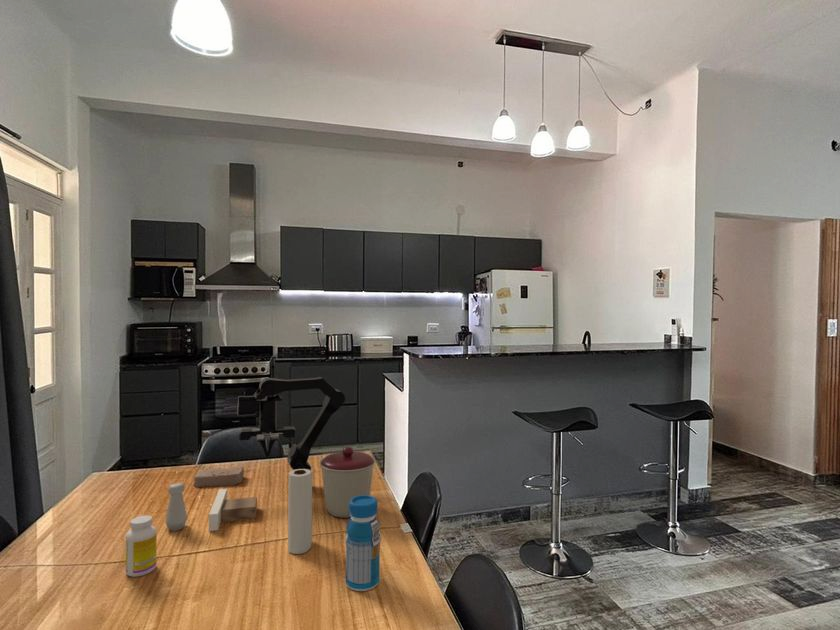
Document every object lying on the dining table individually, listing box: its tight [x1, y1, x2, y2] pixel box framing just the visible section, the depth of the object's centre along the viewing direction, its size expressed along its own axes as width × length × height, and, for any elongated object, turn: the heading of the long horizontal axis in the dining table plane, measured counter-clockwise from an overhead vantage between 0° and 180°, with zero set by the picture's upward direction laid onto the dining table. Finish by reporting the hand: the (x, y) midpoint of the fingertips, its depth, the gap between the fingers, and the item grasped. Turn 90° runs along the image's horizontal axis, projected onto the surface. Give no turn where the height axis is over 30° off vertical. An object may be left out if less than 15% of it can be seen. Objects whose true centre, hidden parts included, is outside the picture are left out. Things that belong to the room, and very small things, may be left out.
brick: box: [193, 466, 245, 488], centre depth 177 cm, size 17×8×5 cm, turn 100°
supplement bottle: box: [125, 515, 157, 578], centre depth 116 cm, size 7×7×13 cm
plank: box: [208, 488, 228, 532], centre depth 147 cm, size 2×20×5 cm, turn 16°
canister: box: [319, 446, 376, 519], centre depth 152 cm, size 18×18×21 cm
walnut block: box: [221, 496, 258, 523], centre depth 148 cm, size 10×8×4 cm
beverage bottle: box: [344, 495, 382, 592], centre depth 112 cm, size 8×8×20 cm
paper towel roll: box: [287, 467, 313, 555], centre depth 128 cm, size 7×6×21 cm
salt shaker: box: [164, 482, 188, 532], centre depth 139 cm, size 6×6×13 cm
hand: (267, 457), depth 166 cm, fingers closed
